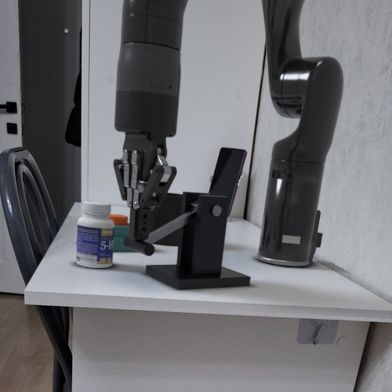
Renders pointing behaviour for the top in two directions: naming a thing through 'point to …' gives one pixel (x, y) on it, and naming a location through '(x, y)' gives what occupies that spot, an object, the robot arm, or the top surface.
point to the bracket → (201, 248)
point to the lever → (161, 232)
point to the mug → (167, 217)
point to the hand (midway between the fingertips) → (138, 238)
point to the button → (119, 219)
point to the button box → (120, 238)
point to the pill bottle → (95, 236)
